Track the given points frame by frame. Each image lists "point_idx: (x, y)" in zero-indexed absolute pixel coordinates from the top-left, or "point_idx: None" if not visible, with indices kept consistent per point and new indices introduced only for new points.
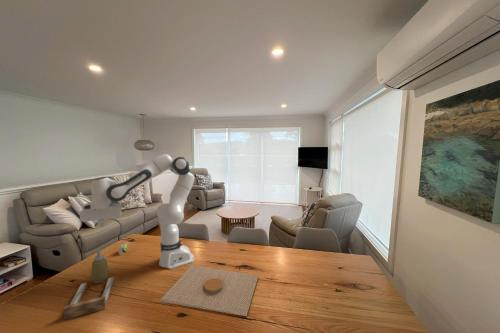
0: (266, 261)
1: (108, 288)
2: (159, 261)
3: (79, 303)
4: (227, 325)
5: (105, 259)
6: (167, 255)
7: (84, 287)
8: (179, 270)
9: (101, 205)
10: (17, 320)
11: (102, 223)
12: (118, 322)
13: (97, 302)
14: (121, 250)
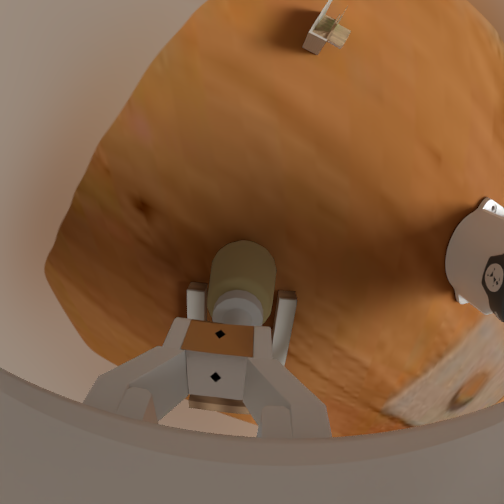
0: None
1: (281, 357)
2: (453, 247)
3: (219, 407)
4: None
5: (268, 308)
6: (482, 308)
7: (204, 317)
8: (468, 317)
9: None
10: (96, 338)
11: (222, 376)
12: None
13: None
14: (320, 46)
